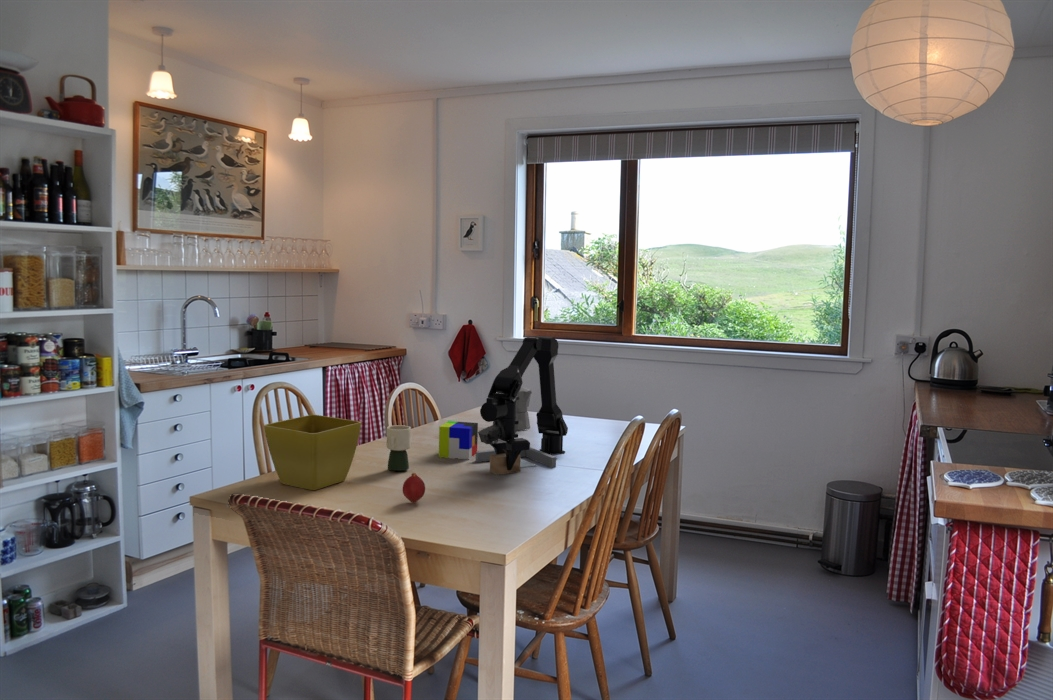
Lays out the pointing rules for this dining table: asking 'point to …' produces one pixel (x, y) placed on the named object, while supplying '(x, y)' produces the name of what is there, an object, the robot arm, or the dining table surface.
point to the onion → (413, 488)
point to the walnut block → (503, 464)
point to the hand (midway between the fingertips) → (505, 468)
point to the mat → (525, 464)
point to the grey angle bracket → (530, 454)
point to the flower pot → (312, 449)
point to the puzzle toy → (458, 439)
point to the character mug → (398, 446)
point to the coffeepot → (523, 408)
